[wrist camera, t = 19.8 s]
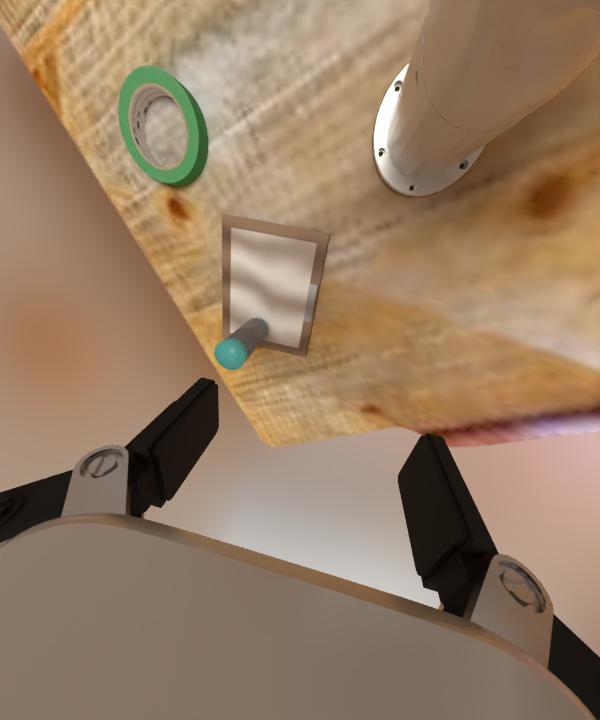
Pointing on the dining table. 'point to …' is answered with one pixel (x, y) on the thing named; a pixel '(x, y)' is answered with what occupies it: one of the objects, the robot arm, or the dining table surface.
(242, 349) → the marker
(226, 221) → the clipboard
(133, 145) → the tape roll
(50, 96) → the dining table surface
